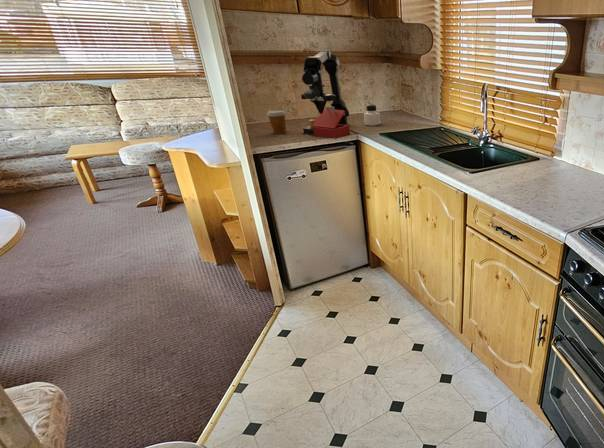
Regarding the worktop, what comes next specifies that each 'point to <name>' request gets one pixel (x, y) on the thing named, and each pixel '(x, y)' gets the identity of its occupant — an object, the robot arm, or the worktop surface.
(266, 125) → the worktop surface
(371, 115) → the medicine bottle
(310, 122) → the valve knob
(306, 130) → the valve panel
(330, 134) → the red cabinet box
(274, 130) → the disposable coffee cup
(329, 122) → the cabinet lid
